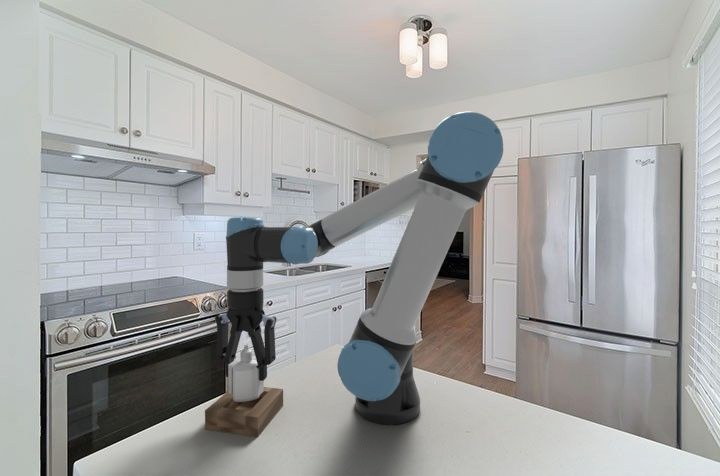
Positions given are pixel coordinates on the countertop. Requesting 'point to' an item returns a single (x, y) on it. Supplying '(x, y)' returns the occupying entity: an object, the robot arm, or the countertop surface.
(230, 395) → the walnut bottle stand
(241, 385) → the eye dropper bottle
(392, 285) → the robot arm
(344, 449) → the countertop surface
